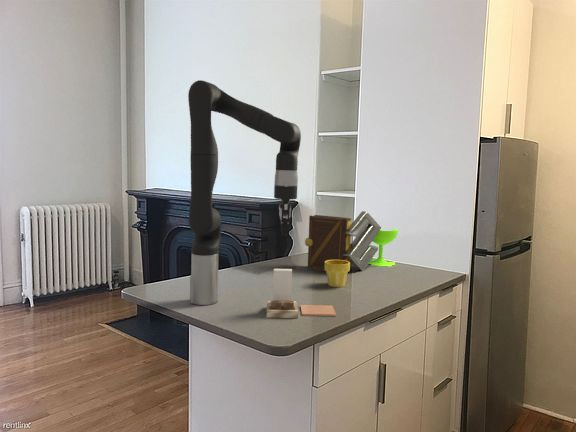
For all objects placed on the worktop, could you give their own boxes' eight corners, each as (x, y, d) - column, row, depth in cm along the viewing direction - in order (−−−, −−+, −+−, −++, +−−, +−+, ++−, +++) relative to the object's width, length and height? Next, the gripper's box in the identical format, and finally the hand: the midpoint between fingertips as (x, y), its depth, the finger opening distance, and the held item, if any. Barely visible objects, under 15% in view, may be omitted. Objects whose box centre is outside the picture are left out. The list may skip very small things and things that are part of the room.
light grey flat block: (272, 308, 163) (273, 270, 161) (272, 306, 165) (273, 268, 164) (291, 309, 163) (292, 270, 161) (290, 307, 165) (291, 269, 164)
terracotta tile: (302, 315, 159) (302, 313, 159) (300, 306, 169) (300, 305, 169) (336, 316, 159) (336, 314, 159) (332, 307, 169) (332, 305, 169)
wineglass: (383, 268, 235) (384, 231, 233) (357, 263, 247) (359, 227, 245) (402, 265, 246) (404, 229, 244) (377, 259, 258) (379, 225, 256)
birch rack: (266, 317, 156) (266, 310, 156) (266, 307, 167) (267, 300, 167) (298, 318, 156) (298, 310, 156) (296, 307, 167) (296, 301, 167)
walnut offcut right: (283, 313, 158) (283, 303, 157) (283, 311, 160) (283, 300, 160) (293, 313, 158) (294, 303, 158) (293, 311, 160) (293, 301, 160)
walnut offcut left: (270, 313, 158) (271, 302, 157) (270, 311, 160) (271, 300, 160) (281, 313, 158) (281, 302, 157) (281, 311, 160) (281, 300, 160)
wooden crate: (351, 271, 227) (353, 218, 224) (343, 275, 220) (345, 219, 217) (310, 265, 238) (311, 214, 236) (301, 268, 231) (302, 215, 229)
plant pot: (318, 285, 200) (319, 261, 199) (334, 281, 207) (334, 258, 206) (338, 290, 193) (339, 265, 192) (354, 285, 200) (355, 262, 199)
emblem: (370, 265, 242) (372, 209, 239) (379, 267, 239) (382, 210, 236) (338, 274, 221) (341, 212, 218) (348, 276, 217) (351, 213, 214)
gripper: (274, 183, 167) (272, 230, 168) (274, 184, 153) (272, 236, 154) (296, 183, 167) (294, 231, 169) (298, 185, 153) (296, 237, 155)
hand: (284, 233), depth 162 cm, fingers open, 8 cm apart
